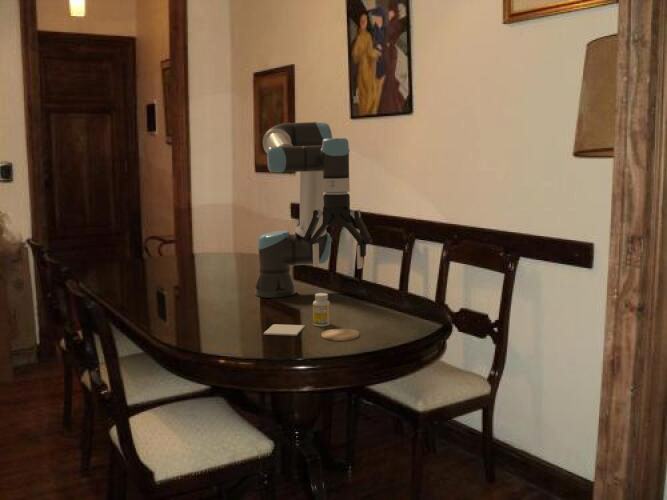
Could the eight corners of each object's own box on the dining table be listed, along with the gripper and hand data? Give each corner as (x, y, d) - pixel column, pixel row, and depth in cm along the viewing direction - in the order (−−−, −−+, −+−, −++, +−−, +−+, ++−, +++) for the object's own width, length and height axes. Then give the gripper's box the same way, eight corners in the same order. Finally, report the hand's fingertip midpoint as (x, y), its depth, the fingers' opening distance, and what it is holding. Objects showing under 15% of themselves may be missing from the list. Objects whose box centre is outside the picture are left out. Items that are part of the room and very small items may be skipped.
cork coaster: (315, 339, 199) (315, 337, 199) (329, 329, 209) (329, 327, 209) (351, 342, 195) (351, 340, 195) (364, 332, 205) (364, 330, 205)
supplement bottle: (322, 327, 211) (322, 297, 209) (309, 325, 214) (308, 294, 213) (334, 324, 215) (333, 293, 213) (321, 321, 218) (320, 291, 217)
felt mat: (263, 334, 205) (263, 332, 204) (273, 325, 214) (273, 324, 214) (296, 335, 202) (296, 334, 202) (304, 326, 212) (304, 325, 212)
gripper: (290, 193, 197) (293, 267, 200) (374, 194, 188) (375, 271, 191) (301, 191, 204) (303, 262, 207) (382, 192, 195) (383, 266, 198)
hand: (337, 267), depth 199 cm, fingers open, 13 cm apart
